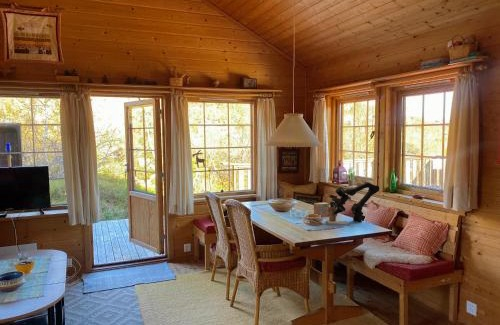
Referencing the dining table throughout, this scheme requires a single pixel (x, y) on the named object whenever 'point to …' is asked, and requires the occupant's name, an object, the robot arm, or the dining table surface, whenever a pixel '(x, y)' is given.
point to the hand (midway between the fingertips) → (331, 213)
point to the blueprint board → (337, 222)
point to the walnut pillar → (332, 214)
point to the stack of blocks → (322, 209)
